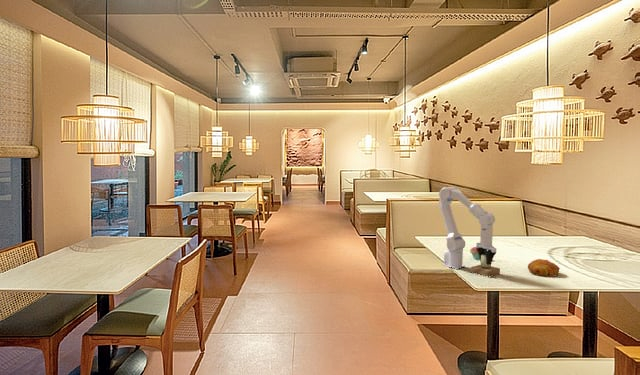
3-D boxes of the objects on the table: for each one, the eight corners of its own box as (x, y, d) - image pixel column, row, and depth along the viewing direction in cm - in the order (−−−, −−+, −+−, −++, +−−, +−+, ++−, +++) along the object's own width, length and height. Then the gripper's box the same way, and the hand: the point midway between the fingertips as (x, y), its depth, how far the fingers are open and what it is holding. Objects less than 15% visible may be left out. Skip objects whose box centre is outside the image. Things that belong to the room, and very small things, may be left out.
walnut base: (471, 272, 218) (471, 267, 218) (482, 269, 224) (482, 264, 223) (488, 277, 210) (488, 271, 210) (499, 273, 216) (500, 268, 215)
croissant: (523, 277, 217) (523, 262, 216) (534, 267, 228) (533, 253, 227) (554, 282, 207) (553, 267, 206) (564, 272, 218) (563, 257, 216)
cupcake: (481, 256, 252) (482, 237, 251) (487, 260, 244) (488, 240, 243) (467, 257, 252) (468, 237, 251) (473, 260, 243) (473, 240, 242)
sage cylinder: (478, 265, 218) (478, 254, 218) (486, 264, 220) (486, 254, 219) (485, 267, 213) (485, 256, 213) (493, 266, 215) (493, 256, 214)
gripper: (471, 234, 222) (470, 260, 223) (487, 240, 207) (487, 267, 208) (483, 234, 223) (482, 259, 224) (500, 239, 209) (499, 266, 210)
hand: (485, 263), depth 216 cm, fingers closed on sage cylinder, 5 cm apart
